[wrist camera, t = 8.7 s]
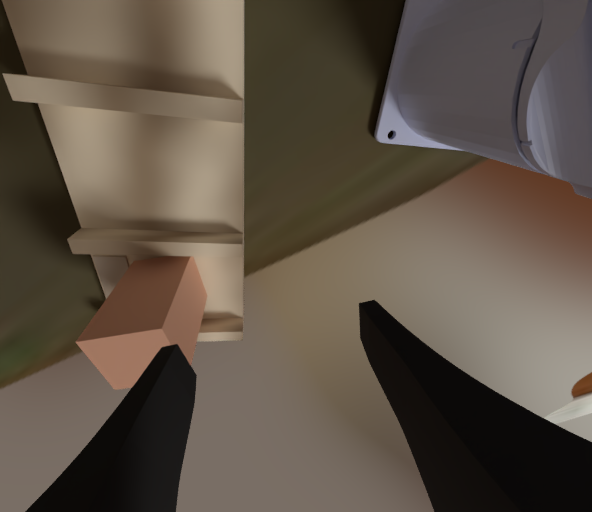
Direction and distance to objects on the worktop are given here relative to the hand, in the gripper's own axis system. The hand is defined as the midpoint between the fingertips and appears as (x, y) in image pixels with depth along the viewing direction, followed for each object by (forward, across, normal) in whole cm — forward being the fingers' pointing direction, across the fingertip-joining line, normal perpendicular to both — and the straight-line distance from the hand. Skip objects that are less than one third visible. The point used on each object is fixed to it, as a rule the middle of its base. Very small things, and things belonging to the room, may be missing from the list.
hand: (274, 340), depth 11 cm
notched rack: (+10, +5, -5) cm, 13 cm away
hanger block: (+10, +7, +2) cm, 12 cm away
